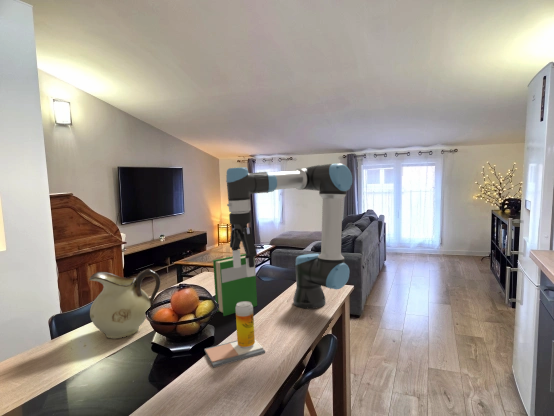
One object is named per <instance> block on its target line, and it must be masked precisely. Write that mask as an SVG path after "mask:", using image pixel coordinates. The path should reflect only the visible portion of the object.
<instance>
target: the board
mask: <svg viewBox="0 0 554 416" xmlns="http://www.w3.org/2000/svg"><path fill="white" fill-rule="evenodd" d="M204 352H205V355H206V356H207V358H208V360H209V362H210V363H211V365H212V368H216V367H220V366H223V365H225V364H226V365H227V364H230V363H232V362H233V363H234V362H237V361H240V360H244V359H247V358H251V357H253V356H258V355H261V354H265V353H266V351H265V349H264V347H263V345H261V344H260V343H259V341H258V340H257V339H256V338H255V343H254V344H253V346H252V347H250V348H241V347H239V345H238V342H237V340H234V341H231V342H225V343H221V344H218V345H214V346H210V347H206V348H204Z"/></svg>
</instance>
